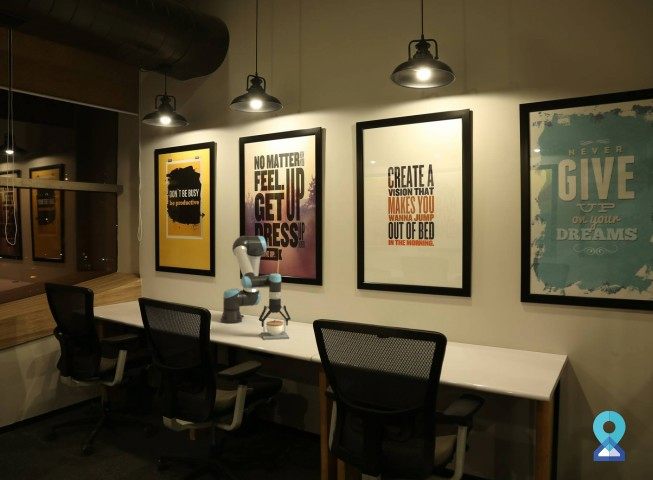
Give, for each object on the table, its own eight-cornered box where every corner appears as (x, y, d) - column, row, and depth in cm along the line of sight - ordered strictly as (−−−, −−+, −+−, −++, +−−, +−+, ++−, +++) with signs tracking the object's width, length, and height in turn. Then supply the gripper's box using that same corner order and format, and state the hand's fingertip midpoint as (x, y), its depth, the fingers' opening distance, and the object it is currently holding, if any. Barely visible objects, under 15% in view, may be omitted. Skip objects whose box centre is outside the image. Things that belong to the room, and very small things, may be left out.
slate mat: (260, 333, 310) (260, 332, 310) (284, 332, 314) (284, 331, 314) (263, 339, 295) (263, 338, 295) (289, 338, 299) (289, 337, 299)
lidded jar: (285, 333, 309) (285, 318, 308) (280, 337, 298) (280, 322, 298) (269, 332, 311) (269, 318, 310) (263, 336, 300) (264, 321, 300)
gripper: (256, 299, 297) (255, 333, 298) (295, 298, 303) (295, 331, 304) (254, 297, 304) (254, 330, 305) (293, 296, 310) (292, 329, 311)
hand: (274, 331), depth 304 cm, fingers open, 13 cm apart
